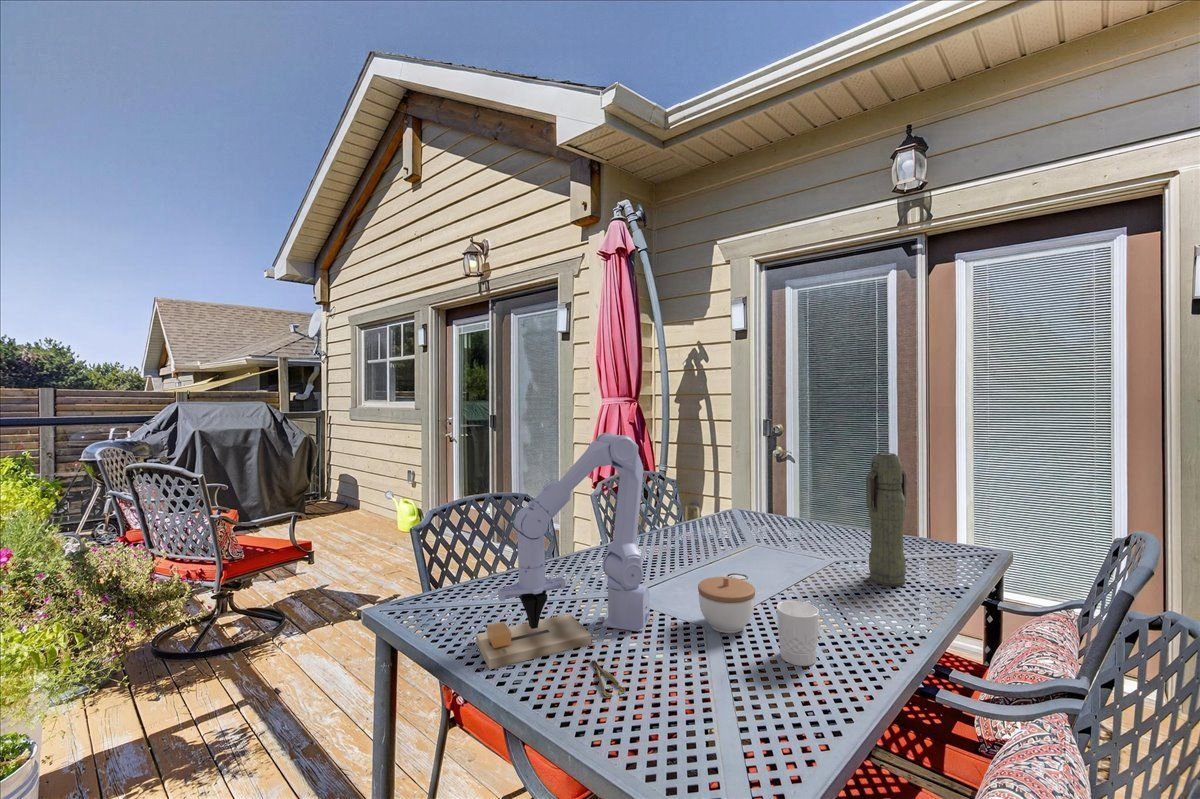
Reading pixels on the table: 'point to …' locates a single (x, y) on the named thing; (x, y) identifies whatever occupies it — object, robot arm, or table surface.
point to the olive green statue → (886, 519)
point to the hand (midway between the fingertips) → (533, 626)
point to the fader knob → (499, 634)
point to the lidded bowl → (726, 603)
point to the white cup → (798, 632)
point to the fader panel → (535, 641)
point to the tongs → (610, 676)
